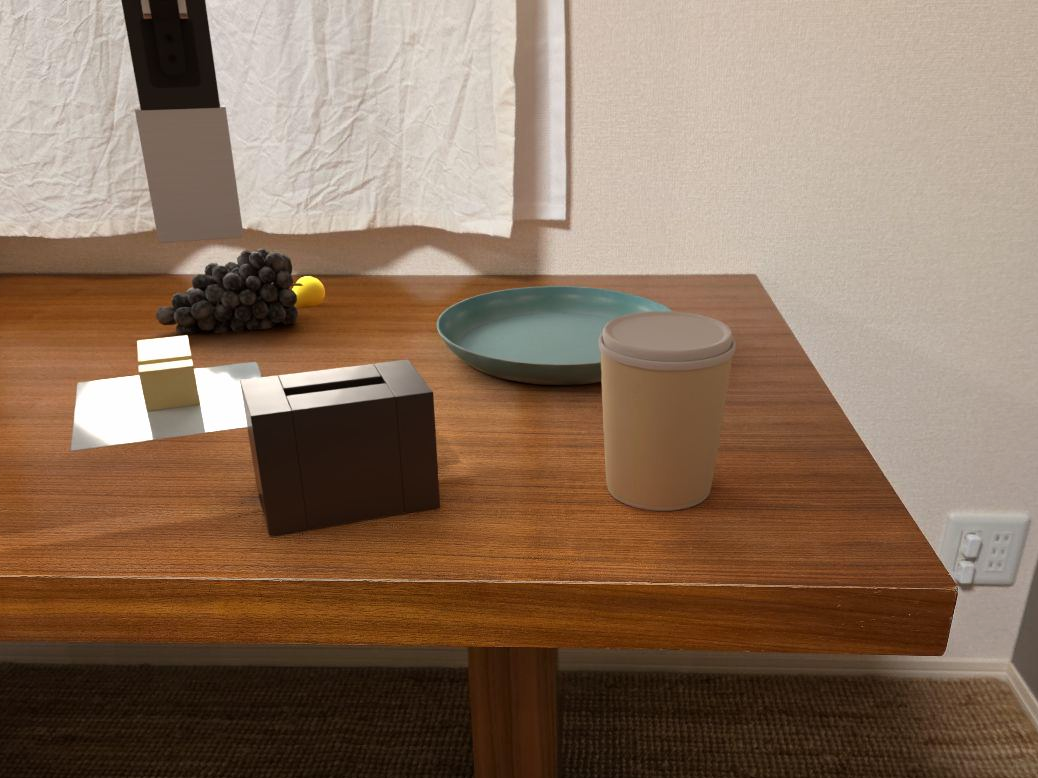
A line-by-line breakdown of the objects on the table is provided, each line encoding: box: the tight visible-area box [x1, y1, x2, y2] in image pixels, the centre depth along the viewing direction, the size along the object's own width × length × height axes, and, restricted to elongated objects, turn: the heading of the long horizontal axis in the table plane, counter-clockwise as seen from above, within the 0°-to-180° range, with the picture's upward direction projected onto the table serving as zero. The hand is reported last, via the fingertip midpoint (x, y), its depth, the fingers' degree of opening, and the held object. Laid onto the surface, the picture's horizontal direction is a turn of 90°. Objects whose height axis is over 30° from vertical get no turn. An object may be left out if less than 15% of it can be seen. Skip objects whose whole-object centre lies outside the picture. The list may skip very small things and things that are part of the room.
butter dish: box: [70, 361, 263, 452], centre depth 88 cm, size 16×16×1 cm
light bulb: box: [291, 275, 326, 309], centre depth 114 cm, size 3×6×4 cm, turn 140°
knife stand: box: [240, 359, 441, 537], centre depth 71 cm, size 12×7×9 cm, turn 110°
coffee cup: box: [599, 310, 737, 512], centre depth 72 cm, size 9×9×12 cm
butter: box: [136, 335, 193, 366], centre depth 90 cm, size 4×6×4 cm
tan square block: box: [137, 358, 200, 411], centre depth 86 cm, size 4×2×4 cm, turn 110°
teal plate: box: [436, 285, 673, 386], centre depth 100 cm, size 24×24×3 cm
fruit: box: [155, 247, 303, 336], centre depth 105 cm, size 9×8×15 cm
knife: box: [120, 0, 245, 244], centre depth 70 cm, size 6×2×16 cm, turn 109°
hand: (175, 82), depth 69 cm, fingers closed on knife, 2 cm apart
